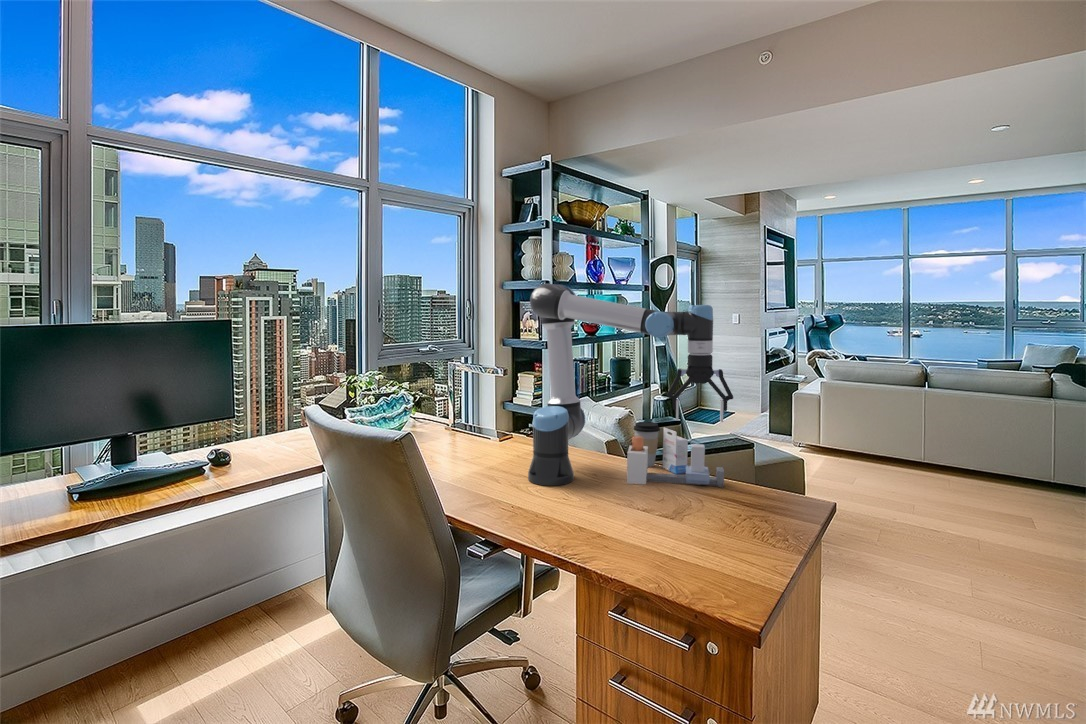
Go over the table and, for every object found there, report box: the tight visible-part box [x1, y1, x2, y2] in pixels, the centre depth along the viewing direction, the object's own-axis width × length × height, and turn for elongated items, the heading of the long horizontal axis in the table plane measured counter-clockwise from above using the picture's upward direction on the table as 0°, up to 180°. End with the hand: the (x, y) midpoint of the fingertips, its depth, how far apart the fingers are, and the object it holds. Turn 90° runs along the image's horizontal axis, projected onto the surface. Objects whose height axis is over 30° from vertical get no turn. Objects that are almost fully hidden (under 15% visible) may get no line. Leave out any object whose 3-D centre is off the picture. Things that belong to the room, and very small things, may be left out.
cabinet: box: [626, 444, 649, 485], centre depth 178 cm, size 6×10×10 cm, turn 166°
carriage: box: [685, 443, 711, 485], centre depth 174 cm, size 7×9×12 cm
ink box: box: [662, 426, 689, 475], centre depth 188 cm, size 8×5×15 cm, turn 20°
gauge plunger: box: [631, 435, 644, 451], centre depth 177 cm, size 4×4×4 cm
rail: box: [646, 466, 725, 488], centre depth 175 cm, size 24×5×5 cm, turn 76°
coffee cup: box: [633, 421, 661, 468], centre depth 195 cm, size 9×9×15 cm
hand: (699, 420), depth 172 cm, fingers open, 13 cm apart
